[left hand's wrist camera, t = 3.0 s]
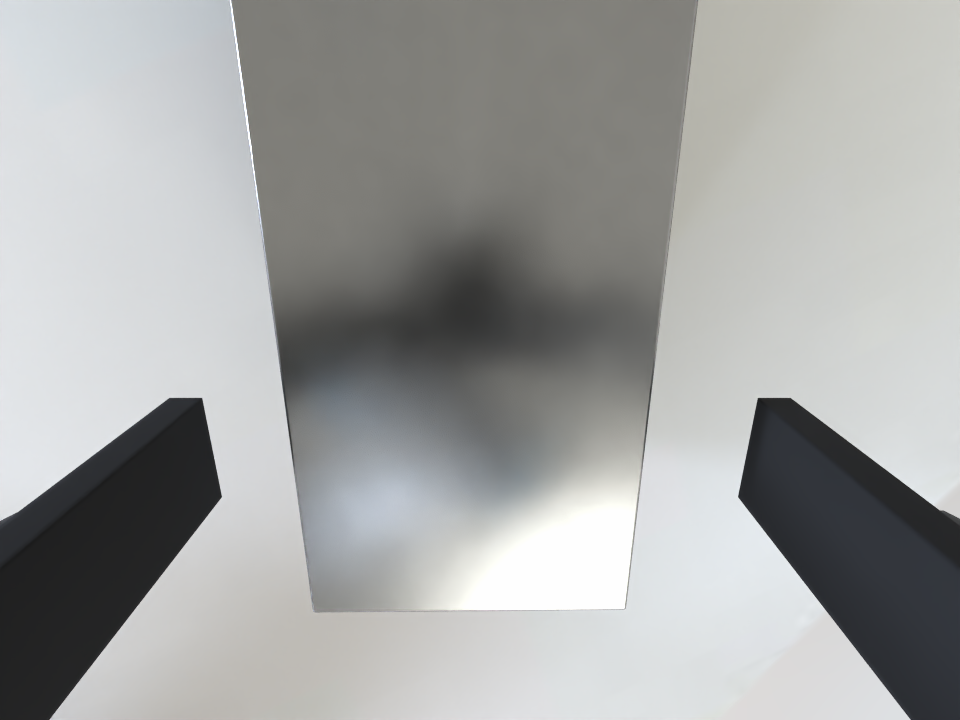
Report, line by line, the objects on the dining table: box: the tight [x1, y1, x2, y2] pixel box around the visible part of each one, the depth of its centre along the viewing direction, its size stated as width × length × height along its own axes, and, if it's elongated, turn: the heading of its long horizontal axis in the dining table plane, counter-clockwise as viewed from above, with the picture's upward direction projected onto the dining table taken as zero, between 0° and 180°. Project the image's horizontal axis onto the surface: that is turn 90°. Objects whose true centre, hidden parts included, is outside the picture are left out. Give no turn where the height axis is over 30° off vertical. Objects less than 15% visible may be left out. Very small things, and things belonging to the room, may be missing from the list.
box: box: [230, 0, 698, 612], centre depth 14 cm, size 26×8×11 cm, turn 0°
